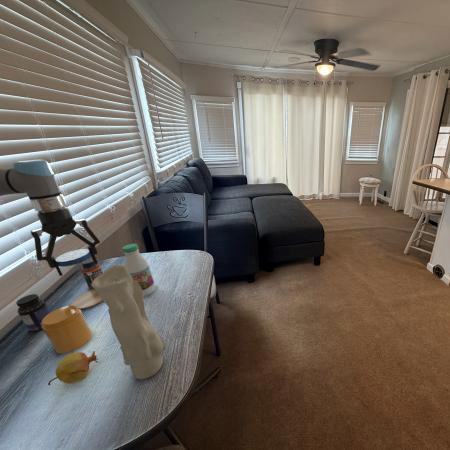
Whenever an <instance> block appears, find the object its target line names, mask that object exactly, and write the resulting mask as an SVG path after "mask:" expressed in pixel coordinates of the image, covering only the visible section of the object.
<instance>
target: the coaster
mask: <svg viewBox="0 0 450 450" xmlns="http://www.w3.org/2000/svg"><path fill="white" fill-rule="evenodd" d="M103 302H104V301H103V300H102V299H101V297H100V296H99V294H98V293H97V291H96V290H95V289H94V288H93V289H90V290H88V291H86V292H84V293H81V294H79V295H78V296H76V297H75V298H74V299H73V300H72V301H71V303H70V306H76V307H77V308H78V309H80V310H81V311H82V310H86V309H91V308H93V307H95V306H98V305H100V304H101V303H103Z"/></svg>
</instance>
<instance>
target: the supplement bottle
mask: <svg viewBox="0 0 450 450" xmlns="http://www.w3.org/2000/svg"><path fill="white" fill-rule="evenodd" d="M81 265H82V267H81V269H80V270H81V273H82V275H83V278H84V280H85V283H86V285H87V287H88V288H89V289H94V288H93V286H92V282H93V280H94V279H95V278H97V277H98V276H100V275H102V274H103V273H104V271H103V268H102V266H101V264H100V263H98V262H97V264H95V263H94V262H93V259H92V258H89V259H87V260H86V261H83V262H81Z"/></svg>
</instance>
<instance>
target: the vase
mask: <svg viewBox="0 0 450 450" xmlns="http://www.w3.org/2000/svg"><path fill="white" fill-rule="evenodd" d="M92 286H93V288H92V289H93V290H94V289H95V290H96V291H97V293H98V294H99V296H100V297H101V299H102V300H103V302H104V303H105V304H106V306H107V307H108V314H109V318H110V319H109V320H110V325H111V328H112V331H113V333H114V335H115V337H116V339H117V341H118V343H119V345H120V347H119V348H120V351H121V353H122V358H123V363H124V365H125V366H129V367H130V371H131V373H132V375H133V377H134V378H135V379H137V380H146V379H149V378H151V377H153V376H155V375H156V374H157V373H158V372H159V371H160V370H161V369H162V367H163V363H164V358H163V352H164V351H165V350H166V348H167V344H166V342H165V340H164V339H163V337H162V336H161V334H159V332H158V330H156V328H155V326H153V325H152V323H151V321H150V320H149V317H148V315H147V313H146V310H145V309H146V308H145V300H144V296H143V291H142V288H141V287H140V285H139V283H138V282H137V280H135V281H134V280H133V278H132V276H131V275H129V273H128V269H127V267H126V266H124V264H116V265H112V266H111V267H109V268H107V269H105V270H104V271H103V274H102V275H100V276H98V277H97V278H95V279H94V280H93V282H92Z"/></svg>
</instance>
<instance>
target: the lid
mask: <svg viewBox="0 0 450 450" xmlns="http://www.w3.org/2000/svg"><path fill="white" fill-rule="evenodd" d="M91 258H92V257H91V253H90V251H89V250H88V248H81V249H75V250H71V251H67V252H65V253H63V254H60V255H58V256H57V257H56V258H55V260H56V262H57V264H58V266H59V267H60V268H61V267H63V268H64V267H65V268H66V267H70V266H71V267H72V266H74V265H78V264H82V262H83V261H86V260H88V259H91Z"/></svg>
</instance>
